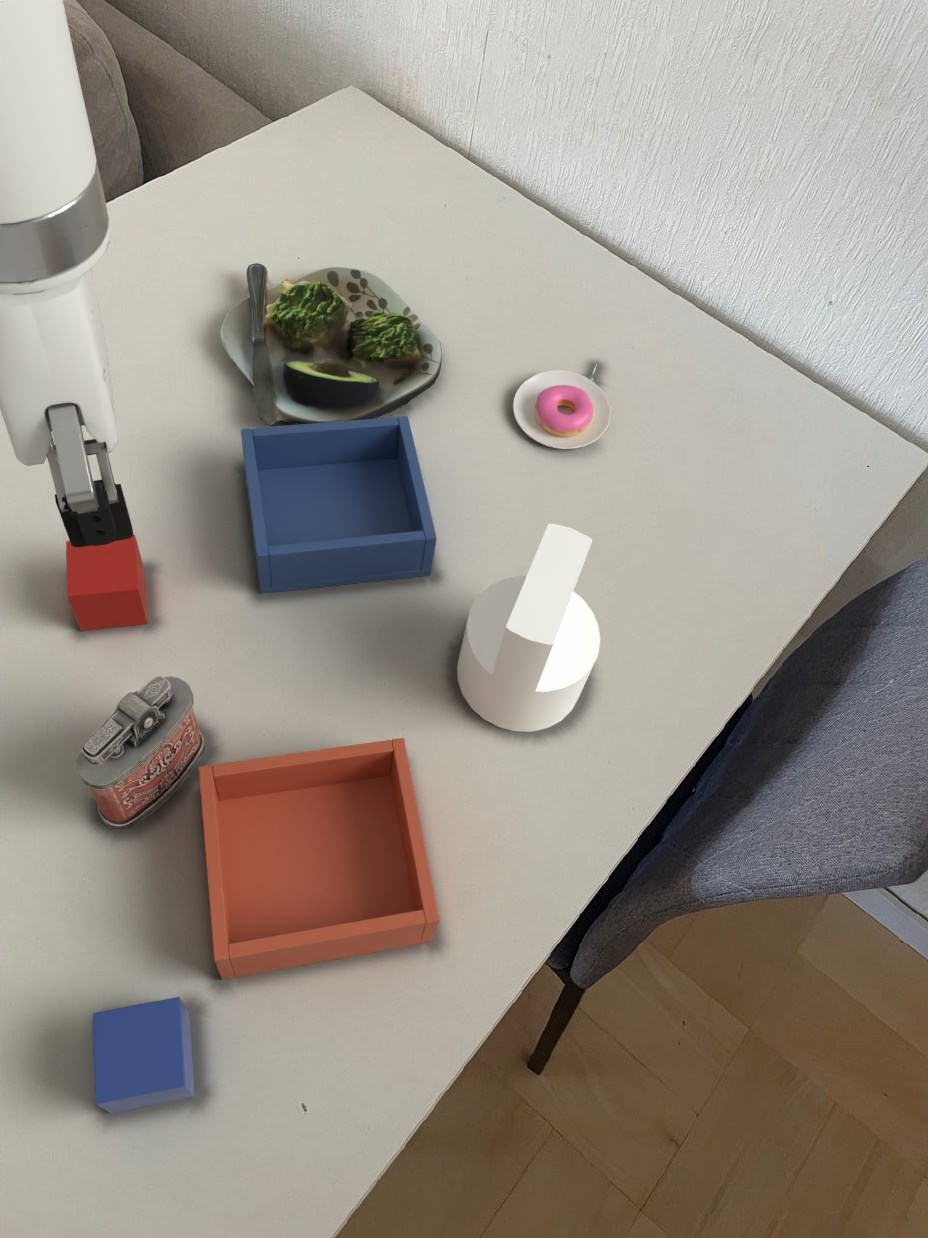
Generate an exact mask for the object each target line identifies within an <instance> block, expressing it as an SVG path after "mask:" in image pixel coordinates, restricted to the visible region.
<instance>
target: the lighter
mask: <svg viewBox="0 0 928 1238" xmlns="http://www.w3.org/2000/svg"><path fill="white" fill-rule="evenodd" d="M194 702H195V701H194V694H193V690H192V689H191V687H190V685H189V684H188V683H187V682H186V681H185V680H184V679H181V678H179V677H177V676H162V675H155V676H154V677H152V678H151V679H150V680H149V681H148V682H147V683H146V684H145V685H144V686H142V687H141V688H140V689H139V691H137V690H135V691H133V692H132V691H130V692H128V693H127V694H125V695H124V696H123V697H122V698H121V699H120V700H119V702H118V703H117V705H116V708H115V710H114V712H113V713H112V714H111V716H110V717H108V718H107V720H106V721H105V722H104V723H103V724H102V725H101V726H100V727H99V729H97V730H96V731H95V732H94V733H93V734H92V735H91V736H90V737H89V738H88V739H87V740H86V741H84V743H83V744H82V745H81V752H80V753H79V754H78V756H77V759H76V761H75V769H76V771H77V774H78V776H79V778H80V780H81V781H82V782H83V783H84V784H85V786H87V787H88V788H89V790H90V792H91V794H92V796H93V798H94V799H95V802H96V803H97V810H98V814H99V816H100V818H101V820H102V821H103V823H104V824H105V825H106V826H107V827H108V828H110V829H112V830H114V831H120V832H121V831H122V832H123V831H128V830H130V829H132V828H134V827H136V826H137V825H138V824H140V823H141V822H143V821H144V820H145V819H146V818H148V817H149V816H150V815H152V814H153V813H155V812H156V811H157V810H158V809H159V808H160V807H161V806H162V805H164V804H165V803H166V802H167V801H168V800H169V799H170V798H171V797H172V796H174V794H175V793H176V792H177V791H178V790H179V788H180V787H181V786H182V785H183V784H184V782H185V781H186V780H187V779H188V777H189V776H190V775H191V774H192V772H193V771H194V769H195V768H196V766H197V765H198V764H199V762H200V760H201V759H202V758H203V755H204V753H205V751H206V743H205V739H204V736H203V734H202V733H201V731H200V730H199V728H198V724H197V719H196V715H195V711H194V708H193V707H194Z"/></svg>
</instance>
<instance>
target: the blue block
mask: <svg viewBox="0 0 928 1238" xmlns="http://www.w3.org/2000/svg"><path fill="white" fill-rule="evenodd" d="M190 1018H191V1017H190V1012H189V1010H188V1009H187V1008H186V1006H185V1004H184V1002H183V1001H182V999H181V996H177V997H172V998H166V999H161V1000H155V1001H149V1002H144V1003H139V1004H133V1005H128V1006H122V1007H118V1008H112V1009H106V1010H101V1011H96V1012H93V1013H92V1039H93V1040H92V1043H93V1044H92V1045H93V1083H94V1084H93V1085H94V1086H93V1087H94V1105H96V1106H97V1107H100V1108H101V1109H103V1110H104V1111H106V1112H107V1113H109V1114H111V1115H112V1114H117V1113H122V1112H127V1111H131V1110H136V1109H137V1110H138V1109H143V1108H146V1107H152V1106H157V1105H162V1104H166V1103H171V1102H175V1101H182V1100H186V1099H192V1098H194V1097H195V1096H196V1093H195V1091H196V1090H195V1077H194V1063H193V1048H192V1033H191V1032H192V1031H191V1020H190Z"/></svg>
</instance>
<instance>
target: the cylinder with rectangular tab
mask: <svg viewBox="0 0 928 1238" xmlns="http://www.w3.org/2000/svg"><path fill="white" fill-rule="evenodd" d="M593 542H594V541H593V539H592V538H591V537H590V536H589V535H587V534H585V533H582V532H580V531H578V530H576V529H574V528H572V527H568V526H566V525H565V526H564V525H560V524H556V523H547V526H546V528H545V531H544V533H543V535H542V538H541V541H540V542H539V545H538V548H537V550H536V552H535V555H534V557H533V560H532V562H531V565H530V567H529V570H528V572H527V574H526V575H517V576H512V577H507V578H504V579H501V580H499V581H497V582H494V583H493V584H490V585H489V586H488V587H487V588H486V589H484V590H483V591H482V592H481V593H480V594H478V596H477V598H476V599H475V601H474V602H473V603H472V605H471V607H470V609H469V613H468V617H467V621H466V625H465V629H464V634H463V638H462V643H461V648H460V652H459V656H458V659H457V660H458V661H457V665H456V671H457V672H456V673H457V684H458V686H459V689H460V692H461V694H462V697H463V698H464V699H465V700H466V702H467V704H468V706H469V707H470V708H471V709H472V710H473V711H474V712H475V713H476V714H478V715H479V716H480V718H482V719H483V720H485V721H486V722H488V723H490V724H492V725H494V726H496V727H497V728H500V729H504V730H509V731H512V732H520V733H521V732H524V733H526V732H528V733H529V732H531V733H533V732H537V731H541V730H545V729H549V728H551V727H552V726H554V725H556V724H558V723H560V722H561V721H563V720H564V719H565V718H566V717H567V716H568V715H569V714H570V713H571V712H572V711H573V710H574V708H575V705H576V704H577V701H578V700H579V698H580V696H581V694H582V691H583V690H584V687H585V685H586V683H587V680H588V678H589V676H590V674H591V672H592V669H593V668H594V666H595V663H596V661H597V659H598V656H599V652H600V646H601V634H600V625H599V623H598V621H597V619H596V616H595V614H594V612H593V610H592V609H591V608H590V606H589V605H588V604H587V602H586V601H585V600H584V598H583V597H581V596H580V595H579V594H577V593H576V592H575V589H576V586H577V583H578V580H579V578H580V576H581V572H582V570H583V566H584V565H585V562H586V560H587V557H588V554H589V551H590V548H591V546H592V543H593Z"/></svg>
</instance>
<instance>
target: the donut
mask: <svg viewBox="0 0 928 1238" xmlns="http://www.w3.org/2000/svg"><path fill="white" fill-rule="evenodd" d="M597 365H598V364H597V363H595V367H594V369H593V372H592V374H591V377H589V378H588V377H586V376H584V375H582V374H579V373H576V372H573V371H569V370H559V369H558V370H557V369H556V370H555V369H554V370H547V371H542V372H539V373H537V374H534V375H532V376H530V377H528V378H527V379H525V380H524V382H522V384H521V385H520V386H519V387H518V389H517V390H516V392H515V394H514V396H513V400H512V412H513V415H514V418H515V421H516V424H517V425H518V426H519V427H520V429H521V430H522V431H523V432H524V433H525V434H526V436H528V437H529V438H531V439H532V440H534V441H535V442H537V443H539V444H540V445H543V446H546V447H548V448H549V447H550V448H554V449H560V450H572V449H579V448H582V447H586V446H588V445H590V444H592V443H594V442H595V441H597V440H598V439H600V438H601V437H602V436H603V434H605V432H606V431H607V429H608V428H609V425H610V422H611V418H612V412H611V411H612V409H611V405H610V402H609V399H608V397H607V395H606V393H605V392H604V391H603V389H601V387H600V386H599V385H598V384H597V383H595V382H594V377H592V376H594V373H595V371H596V369H597Z"/></svg>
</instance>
